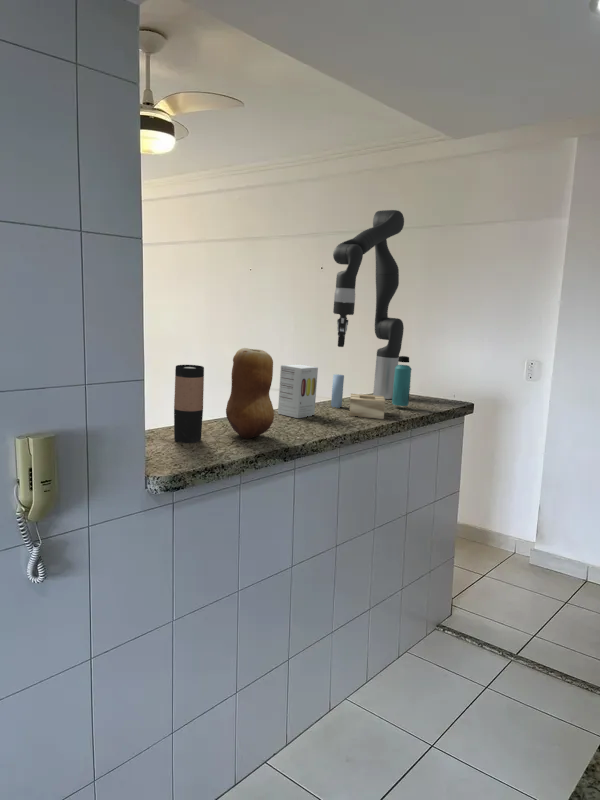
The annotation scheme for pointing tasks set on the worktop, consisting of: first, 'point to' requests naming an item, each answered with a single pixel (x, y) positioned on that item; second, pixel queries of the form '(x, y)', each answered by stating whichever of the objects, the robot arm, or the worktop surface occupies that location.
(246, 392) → the butternut squash
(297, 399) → the supplement box
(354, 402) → the socket block
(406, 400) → the beverage bottle
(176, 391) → the travel mug
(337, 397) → the peg
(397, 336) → the robot arm
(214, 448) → the worktop surface
